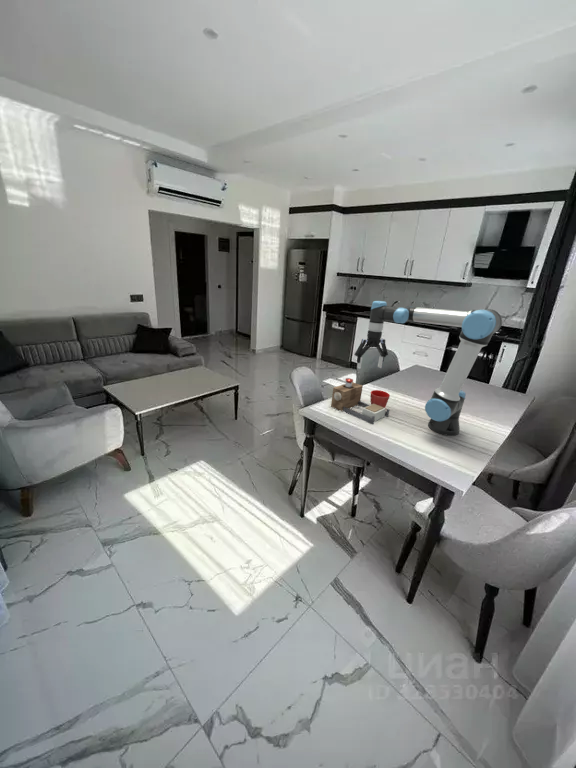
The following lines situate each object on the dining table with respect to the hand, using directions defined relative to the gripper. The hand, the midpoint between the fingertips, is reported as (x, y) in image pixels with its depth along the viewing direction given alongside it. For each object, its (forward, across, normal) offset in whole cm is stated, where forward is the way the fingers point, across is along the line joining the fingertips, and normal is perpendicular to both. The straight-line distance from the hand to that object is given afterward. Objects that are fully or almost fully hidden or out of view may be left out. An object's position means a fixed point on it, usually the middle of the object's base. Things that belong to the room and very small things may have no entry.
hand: (369, 367), depth 177 cm
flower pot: (+26, -9, +1) cm, 27 cm away
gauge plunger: (+16, +8, -6) cm, 19 cm away
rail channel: (+25, +3, +6) cm, 26 cm away
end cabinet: (+25, +8, -6) cm, 27 cm away
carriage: (+25, 0, +11) cm, 28 cm away
